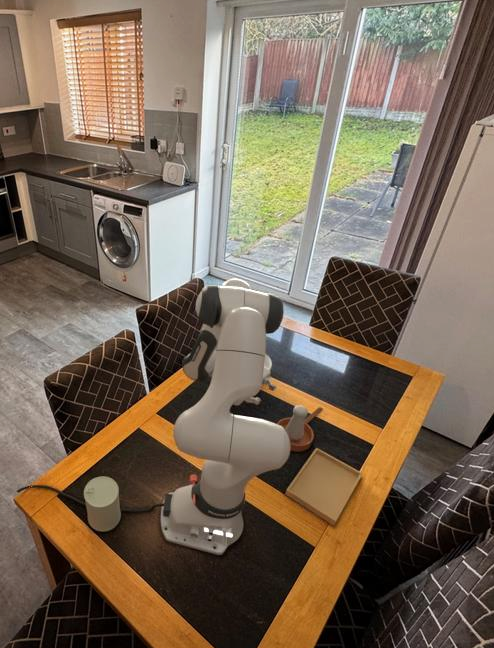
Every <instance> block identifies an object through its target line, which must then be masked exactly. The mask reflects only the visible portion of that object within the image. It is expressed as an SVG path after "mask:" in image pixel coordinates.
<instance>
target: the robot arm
mask: <svg viewBox="0 0 494 648" xmlns="http://www.w3.org/2000/svg"><path fill="white" fill-rule="evenodd" d="M195 312H196V318H197V320H199V322H200V323H202V324H203V325H202V326H201V329H200V332H199V334H198V336H197V338H196V340H195V342H194V344H193V346H192V348H191V350H190V353H189V354H187V355H186V356H184V358H182V360H181V367H182V371H183V373H184V375H185V376H186V377H187V378H188V379H190V380H191V381H195V382H203V381H206V379H207V378H208V377H209V378H211V379H210V382H209V383H210V384H209V386H208V388H207V390H206V392H205V393H204V394H203V396H202V397H201V399H200V400H198V402H197V403H195V404H194V405H193V406H191V407H190V408H188V409H186V410H184V411H183V412H182V413H181V414H180V415H179V416H178V417H177V418H176V420H175V423H174V426H173V440H174V444H175V446H176V447H177V449H178V450H179V452H182V453H184V454H186V455H189V456H190V457H191V456H192V457H193V458H196V459H200V460H205V462H204V463H203V464H202V467H201V474H200V475H201V476H200V479H199V480H198V475H196V474H195V473H193V474H191V475H189V485H184V486H181V487H177V489H175V491H174V492H173V491H172V492H168V493H165V495H164V498H163V500H162V503H155V504H153V505H152V506H151V507H149V508H143V509H142V508H141V509H132V508H120V511H121V513H122V512H125V513H147V512H152V511H154V510H155V508H160V507H161V508H160V529H161V533H162V535H163V537H164V539H165V541H167V542H169V543H172V544H177V545H180V546H184V547H187V548H191V549H194V550H198V551H202V552H206V553H209V554H213V555H217V556H223V554H224V553H225V552H226V550H227V548H228V547H229V546H231V545H233V544H234V543H235V542H236V541H238V539H239V538H240V537H241V535H242V533H243V531H244V518H243V515H242V513H243V512H242V511H243V509H244V506H245V503H246V489H247V486H248V484H249V482H251V480H253V479H254V478H255V477H258V476H259V475H261V474H264V473H266V472H270V471H275V470H279V469H281V468H282V467H283V466H284V465H285V464H286V462H287V461H288V459H289V457H290V454H291V451H290V448H291V445H290V439H289V436H288V434H287V432H286V431H285V429H284V428H283V427H282V426H280V425H278V424H277V423H275V422H272V421H270V420H266V419H264V418H258V417H251V416H245V415H240V414H233V413H232V412H231V408H232V406H233V405H234V406H240V405H241V404H242V403H244V402H246V403H250V404H255V405H256V406H259V405H260V404H261V401H262V399H261V398H259V397H258V396H257V395H258V394H259V392H260V391H261V389H262V387H263V385H265V386H268V390H270V391H272V392H274V391H275V390H276V389H277V384H275V383H273V382H272V380H271V378H270V377H271V373H272V372H271V371H270V370H269V369H267V368H265V367H264V362H265V354H266V352H267V351H266V350H267V335H270V334H274V333H276V331H278V330H279V328H280V326H281V324H282V322H283V320H284V316H285V315H284V314H285V313H284V312H285V311H284V302H283V301H282V299H281V298H280V297H279V296H278V295H276V294H272V293H269V292H265V293H264V292H261V291H258V290H254V289H252V287H251V286H250V284H248V283H247V282H246V281H244V280H243V279H240V278H231V279H228V280H225V281H224V282H223V283H222V284H221V285H218V284H208V285H205V286H204V287H203V288H201V290H200V292H199V294H198V295H197V297H196V300H195ZM255 396H256V397H255ZM32 485H33V486H32ZM31 486H32V487H31ZM29 487H30V488H29ZM34 488H37V489H40V488H41V489H48V490H51V491H53V492H55V493H58V494H59V495H61V496H63V497H66V498H67V499H69V500H72V501H74V502H76V503H78V504H79V505H82V506H84V507H86V502H85V501H84V502H83V501H82V500H80V499H78V498H76V497H74V496H72V495H70V494H67V493H65V492H63V491H61V490H59V489H57V488H55V487H53V486H49V485H43V484H31V485H30V484H29V485H26V486H23V487H21V488H19V489H17V491H16V493H21V492H22V491H25V490H28V489H34Z"/></svg>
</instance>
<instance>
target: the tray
mask: <svg viewBox="0 0 494 648" xmlns="http://www.w3.org/2000/svg"><path fill="white" fill-rule="evenodd" d="M363 474H364V473H363V472H361V471H359V470H358V469H356V468H354V467H352V466H350V465H349V464H347V463H345V462H343V461H342V460H340V459H337V458H336V457H335V456H333V455H331V454H329V453H327V452H326V451H323V450H321V449H320V448H318V447H315V449H314V450H313V451H312V453H311V455H310V456H309V457H308V459H307V460H306V461H305V463H304V464H303V466H302V467H301V468H300V469H299V471H298V473H296V476H295V477H294V478H293V480H292V481H291V482H290V484H289V485H288V487H287V488H286V490H285V492H284V495H285V496H287V497H288V498H290V499H291V500H293V501H294V502H296V503H298V504H299V505H301V507H304V508H305V509H307V510H308V511H310V512H311V513H313V514H314V515H316V516H318V517H319V518H320V519H322V520H323V521H325V522H327V523H328V524H329V525H331V526H332V527H334V526H335V525H336V523H337V521H339V518H340V516H341V514H342V512H343V511H344V509H345V507H346V505H347V503H348V502H349V500H350V498H351V496H352V495H353V493H354V490H355V489H356V487H357V485H358V483H359V482H360V480H361V478H362V476H363Z"/></svg>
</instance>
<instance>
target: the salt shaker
mask: <svg viewBox="0 0 494 648" xmlns="http://www.w3.org/2000/svg"><path fill="white" fill-rule="evenodd" d="M292 414H293V415H292V417H290V418H291V420H290V422H289V423H288V425H287V427H286V429H285V431H286V432H287V434H288V436H289V439H290V441H298V440H299V439H301V438H302V437H303V435H304V420H305V419H306V418H307V417H308V414H309V411H308V408H307V407H306V406H304V405H301V404H300V405H295V406H294V408H293V409H292Z"/></svg>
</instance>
